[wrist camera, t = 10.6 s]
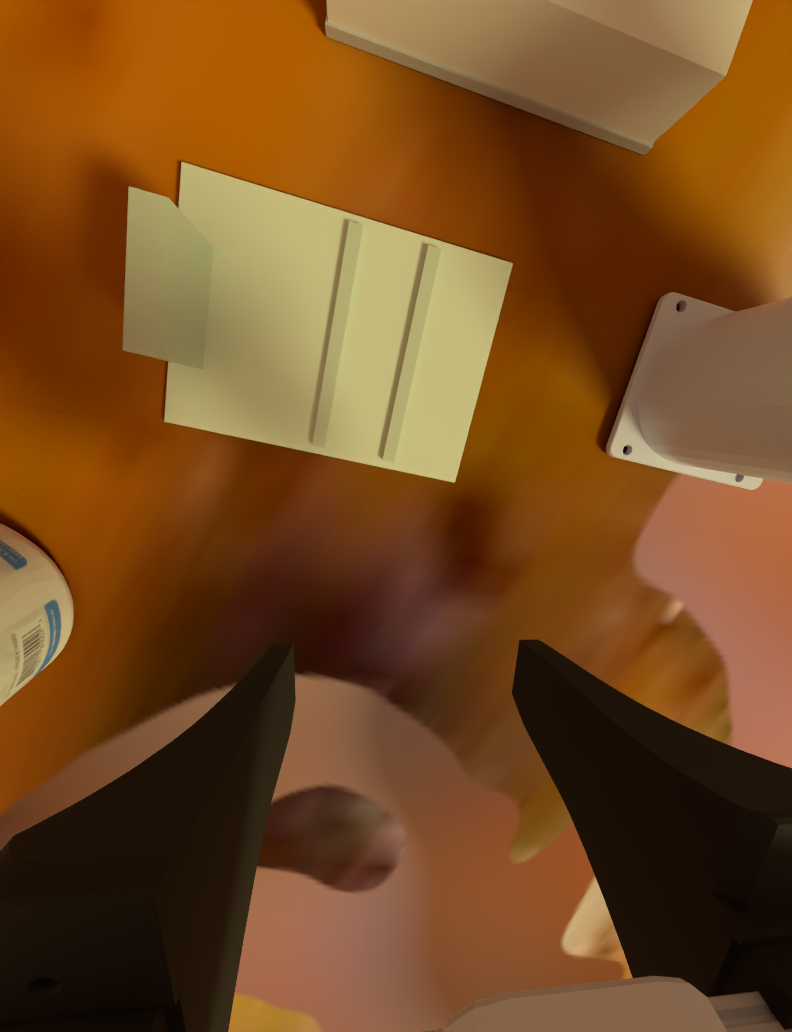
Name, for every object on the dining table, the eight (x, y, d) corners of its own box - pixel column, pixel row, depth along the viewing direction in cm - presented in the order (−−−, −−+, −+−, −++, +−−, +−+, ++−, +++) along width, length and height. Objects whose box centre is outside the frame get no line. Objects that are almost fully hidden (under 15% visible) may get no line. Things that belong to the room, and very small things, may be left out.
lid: (506, 269, 18) (556, 222, 14) (451, 479, 21) (477, 500, 16) (190, 173, 16) (121, 78, 11) (172, 421, 19) (110, 425, 14)
